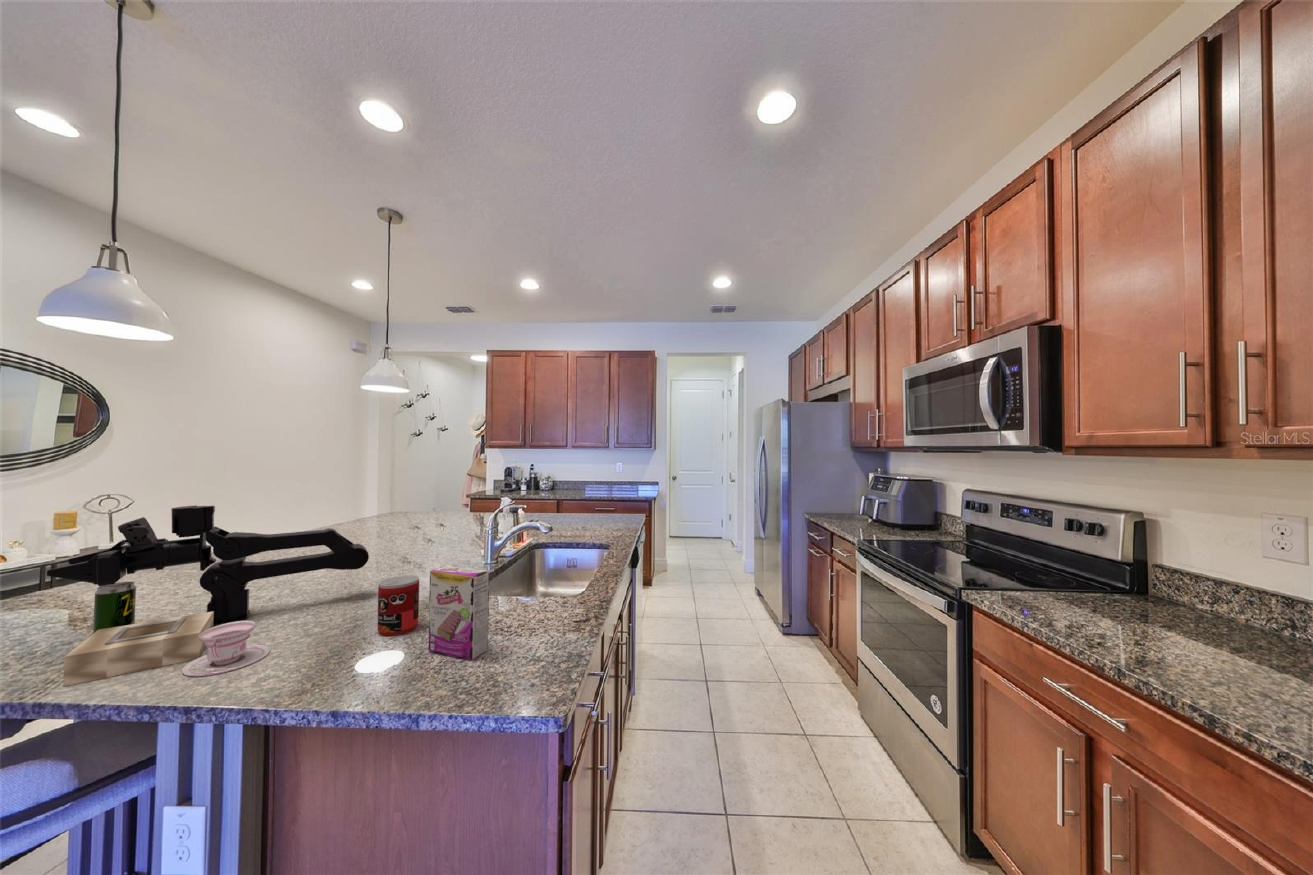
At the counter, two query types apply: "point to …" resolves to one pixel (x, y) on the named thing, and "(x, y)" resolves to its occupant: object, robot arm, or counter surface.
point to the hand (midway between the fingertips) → (58, 567)
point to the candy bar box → (459, 611)
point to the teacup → (227, 648)
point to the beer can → (114, 605)
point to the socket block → (136, 648)
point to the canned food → (398, 605)
